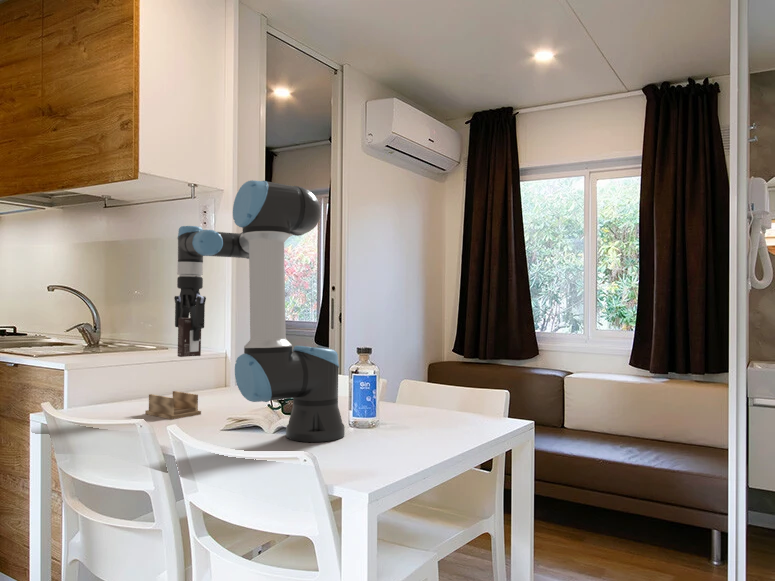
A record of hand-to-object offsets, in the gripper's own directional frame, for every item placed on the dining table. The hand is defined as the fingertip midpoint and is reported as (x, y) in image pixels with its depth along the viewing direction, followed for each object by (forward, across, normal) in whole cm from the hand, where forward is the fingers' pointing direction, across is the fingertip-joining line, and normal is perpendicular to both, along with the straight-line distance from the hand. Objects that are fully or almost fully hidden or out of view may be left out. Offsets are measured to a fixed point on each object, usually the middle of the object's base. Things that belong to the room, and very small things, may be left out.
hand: (189, 350), depth 186 cm
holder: (+19, +2, +4) cm, 20 cm away
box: (+2, 0, 0) cm, 2 cm away
